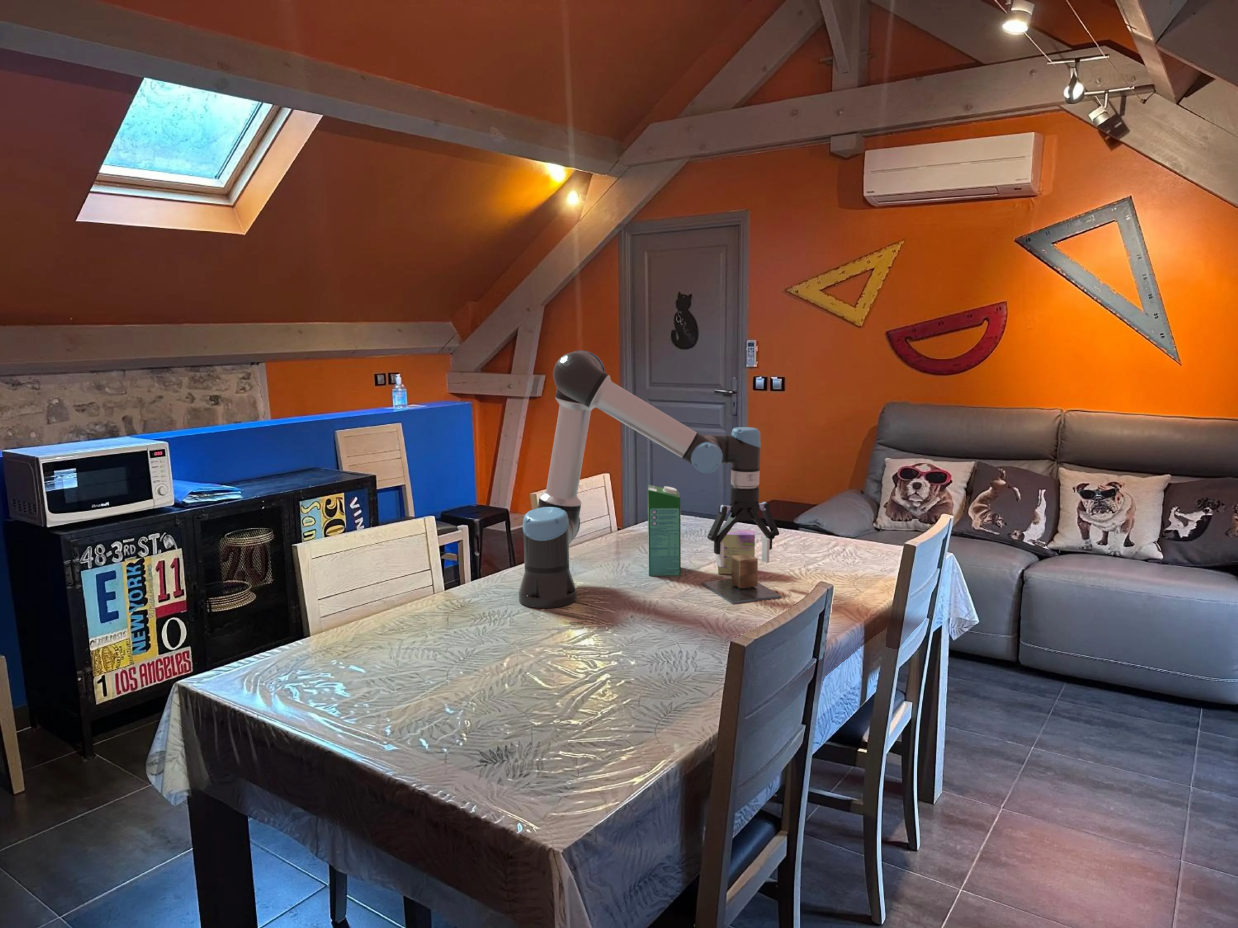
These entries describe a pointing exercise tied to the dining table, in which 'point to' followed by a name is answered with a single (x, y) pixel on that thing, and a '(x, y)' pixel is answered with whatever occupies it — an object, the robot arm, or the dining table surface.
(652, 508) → the milk carton
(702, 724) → the dining table surface
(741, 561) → the brown rectangular block
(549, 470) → the robot arm
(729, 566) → the box
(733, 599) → the grey plate
